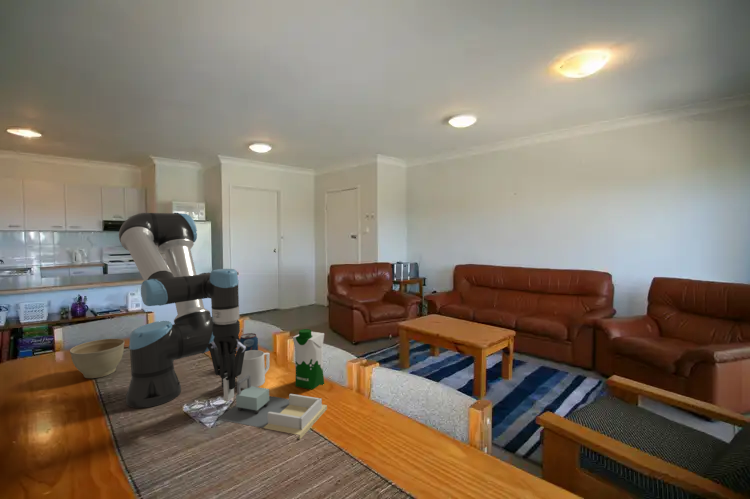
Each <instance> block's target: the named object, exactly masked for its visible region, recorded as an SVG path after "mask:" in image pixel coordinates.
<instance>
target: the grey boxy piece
mask: <svg viewBox="0 0 750 499" xmlns="http://www.w3.org/2000/svg"><path fill="white" fill-rule="evenodd" d="M246 380H247V388H245V389H242V388H241V383H242V382H244V381H246ZM241 389H242V390H241ZM269 396H270V389H269V388H265V387H260V386H259V387H253V386H251V376H250V375H247V376H246V377H244V378H243V379H241V380H239V381H237V382H236V394H235V401H236V402H235V404H236V405H235V406H236V407H238V410H239V411H241V410H242V409H243V408H246V409H251V410H254V413H255V414H258V413H259V409H260V408H261V407H262V406H263V405H264V406H268V401H269Z"/></svg>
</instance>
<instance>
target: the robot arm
mask: <svg viewBox="0 0 750 499" xmlns="http://www.w3.org/2000/svg"><path fill="white" fill-rule="evenodd" d="M197 231H198V230H197V225H196V222H195V220H194V218H193V217H192V216H190V215H189V214H187V213H179V212H173V213H171V212H139V213H136V214H133V215H132V216H130V217H129V218H127V219H126V220H124V221H123V223H122V225H121V226H120V229H119V232H118V239H119V242H120V244H121V246H122V247H123V248H124V250H127V251H129V254H130V256H131V258H132V260H133V261H134V264H135V267H136V268H137V270H138V272H139V273H140V276H141V277H142V280H143V281H142V282H141V284H140V285H141V286H140V296H141V300H142V301H141V302H143V304H144V305H145V306H147V307H154V306H166V305H172V304H175V308H176V313H177V315H176V316H175V318H173V323H172V322H171V321H170V320H160V321H153V322H150V323H146V324H143V325H141V326H138V327H137V328H135V329H134V330H133V331H132V332H131V333H130V335H129V346H128V349H129V355H130V356H129V357H130V373H131V376H130V377H131V379H130V382H129V386H128V389H127V392H126V393H125V394H126V395H125V404H126V405H127V406H128V407H131V408H136V409H139V408H151V407H154V406H159V405H162V404H166V403H168V402H170V401H172V400H174V399H175V398H177V397H178V396H179V395H180V394H181V392H182V385H181V382H180V381H179V378H178V374H177V373H176V371H175V367H174V366H175V365H174V364H175V363H174V361H176V360H180V359H184V358H189V357H192V356H195V355H199V354H205V353H208V352H209V353H210V358H211V362H212V365H213V366H212V367H213V370H214V375H216V376H219V377H220V379H221V387H222V389H223V401H227V402H229V401H230V400H232V399H234V397H235V388H236V387H237V383H236V378H237V376H239V375H240V374H241V371H242V365H243V360H244V354H245V351H246V349H247V345H243V344H242V343H240V338H241V337H240V336H239V335H240V332H241V329H240V328H241V326H240V325H241V324H240V321H239V320H240V304H239V301H240V299H239V279H238V271H237V270H236V269H234V268H218V269H213V270H211V272H202V273H199V274H197V272H196V267H195V263H194V260H193V259H194V258H193V255H192V254H193V253H192V250H191V249H192V248H193V246H194V245H195V244H194V243H195V242H196V241H197V238H198V232H197ZM161 253H162V254H164V257H165V259H164V257H163V256H162V254H161ZM203 299H204V300H205V299H210V302H211V304H210V306H211V307H210V308H211V311H210V310H208V309H207V308H205V305H204V302H203Z"/></svg>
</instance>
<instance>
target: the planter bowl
mask: <svg viewBox="0 0 750 499" xmlns="http://www.w3.org/2000/svg"><path fill="white" fill-rule="evenodd" d="M124 346H125V340H124V339H123V338H122V339H121V338H103V339H95V340H92V341H87V342H84V343H80V344H77V345H76V346H73V347H72V348H70V350H69V354H70V355H71V356H70V357H71V361H72V363H73V365H74V367H75V368H76V370H78V371H79V372H80V373H81V374H83V377H84V378H86V379H97V378H103V377H106V376H109V375H111V374H113V373H114V372H116V371H117V366H118V365H119V364H120V362H121V361H122V358H123V357H124V356H123V355H124V352H125V347H124Z"/></svg>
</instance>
